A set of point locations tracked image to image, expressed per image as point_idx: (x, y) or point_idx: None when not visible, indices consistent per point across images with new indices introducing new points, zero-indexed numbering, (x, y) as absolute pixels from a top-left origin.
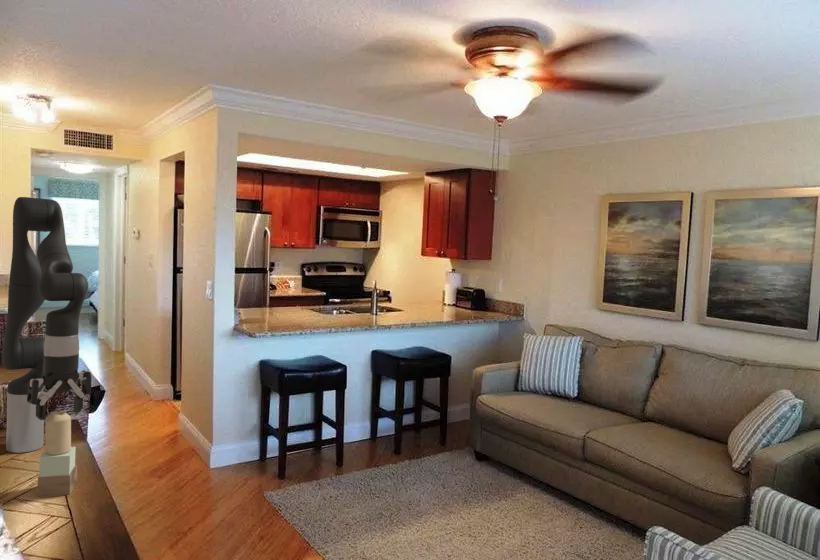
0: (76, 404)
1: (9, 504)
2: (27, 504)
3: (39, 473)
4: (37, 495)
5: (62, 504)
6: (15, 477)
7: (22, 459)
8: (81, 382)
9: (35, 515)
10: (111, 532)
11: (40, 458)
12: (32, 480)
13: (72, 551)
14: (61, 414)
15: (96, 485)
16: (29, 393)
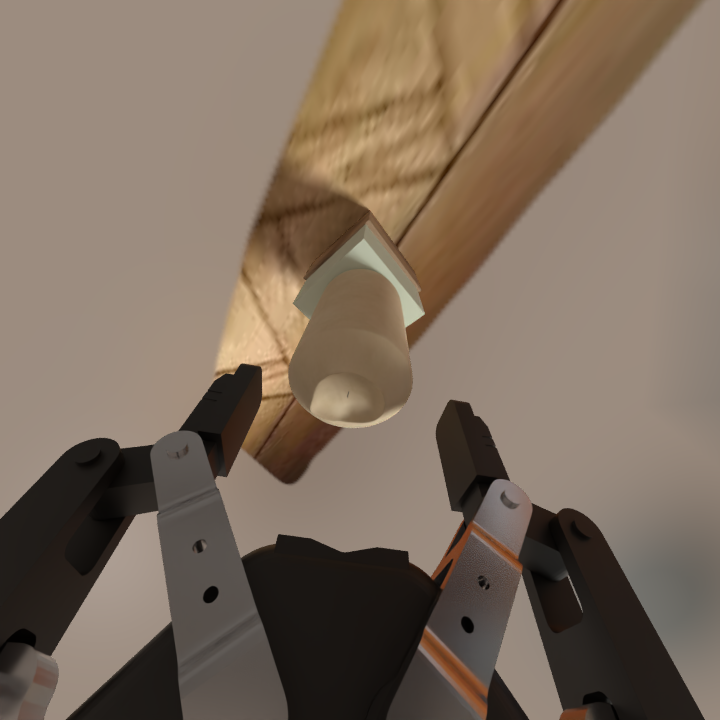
0: (450, 455)
1: (253, 242)
2: (279, 278)
3: (304, 283)
4: (313, 262)
5: None
6: (362, 35)
7: None
8: (605, 633)
9: (265, 334)
10: (307, 453)
11: (295, 303)
12: (373, 133)
13: (248, 449)
14: (369, 395)
15: (423, 321)
16: (14, 541)
